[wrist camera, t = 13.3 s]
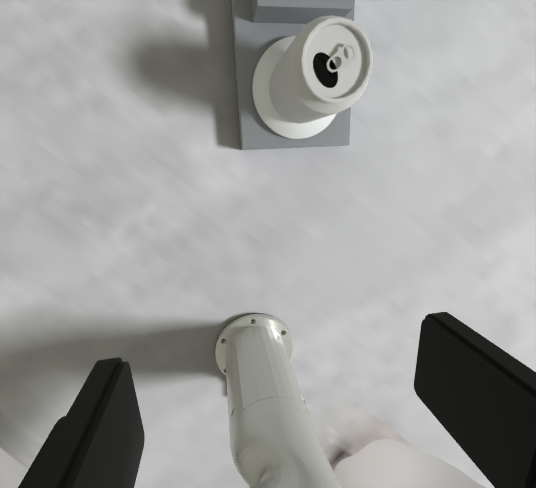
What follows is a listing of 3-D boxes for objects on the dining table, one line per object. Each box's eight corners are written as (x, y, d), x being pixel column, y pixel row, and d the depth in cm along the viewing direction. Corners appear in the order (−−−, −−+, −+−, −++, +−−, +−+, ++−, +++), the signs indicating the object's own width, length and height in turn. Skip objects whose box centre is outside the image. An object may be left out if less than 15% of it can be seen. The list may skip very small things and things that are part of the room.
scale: (340, 145, 42) (363, 144, 35) (240, 149, 40) (246, 149, 33) (344, -9, 37) (372, -44, 30) (230, -13, 35) (234, -52, 28)
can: (254, 80, 34) (275, 44, 23) (307, 40, 34) (354, -17, 23) (290, 137, 37) (324, 129, 25) (339, 100, 36) (396, 75, 25)
